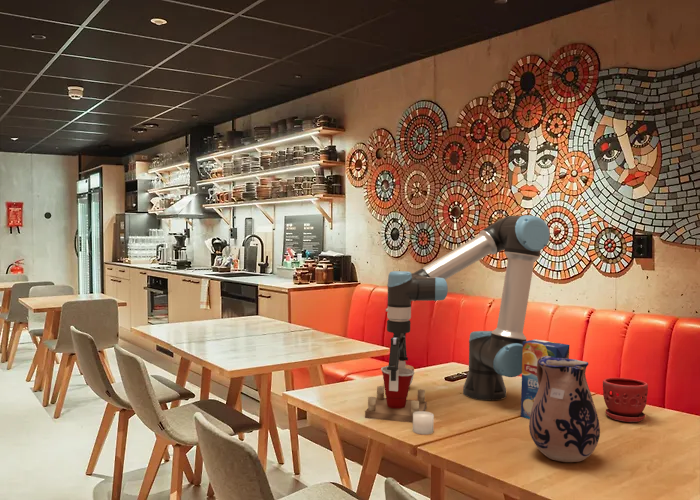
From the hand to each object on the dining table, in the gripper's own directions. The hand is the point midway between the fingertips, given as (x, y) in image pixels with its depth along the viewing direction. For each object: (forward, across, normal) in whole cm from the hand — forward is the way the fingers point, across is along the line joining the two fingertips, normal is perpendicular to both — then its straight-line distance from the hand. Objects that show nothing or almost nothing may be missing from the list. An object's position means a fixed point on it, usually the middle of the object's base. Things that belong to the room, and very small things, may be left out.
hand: (397, 385), depth 197 cm
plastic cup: (+7, 0, 0) cm, 7 cm away
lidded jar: (+9, -30, -4) cm, 32 cm away
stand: (+9, 0, 0) cm, 9 cm away
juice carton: (+9, -8, +46) cm, 47 cm away
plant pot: (+9, -16, +70) cm, 73 cm away
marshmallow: (+9, +16, +10) cm, 21 cm away
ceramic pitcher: (+9, +24, +48) cm, 54 cm away
